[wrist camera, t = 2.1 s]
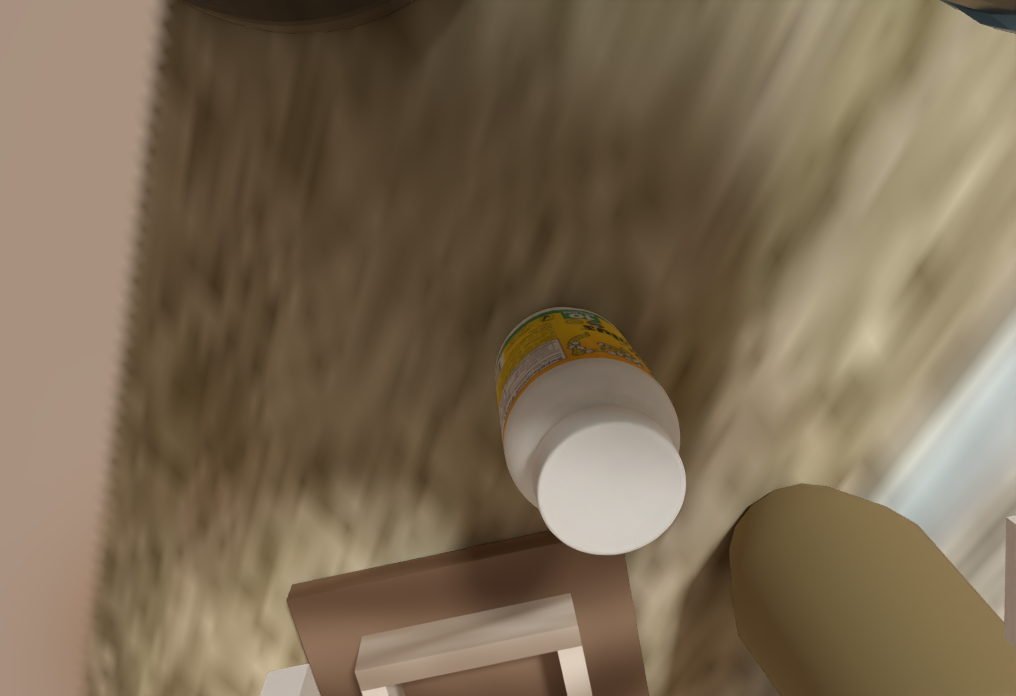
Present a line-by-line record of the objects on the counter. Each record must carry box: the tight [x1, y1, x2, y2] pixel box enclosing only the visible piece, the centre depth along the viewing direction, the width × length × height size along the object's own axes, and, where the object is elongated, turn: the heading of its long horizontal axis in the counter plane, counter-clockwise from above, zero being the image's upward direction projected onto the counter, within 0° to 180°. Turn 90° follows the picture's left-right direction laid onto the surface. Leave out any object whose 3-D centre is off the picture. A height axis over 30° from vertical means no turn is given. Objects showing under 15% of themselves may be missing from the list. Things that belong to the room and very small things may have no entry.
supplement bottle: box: [495, 307, 686, 555], centre depth 23 cm, size 5×5×10 cm
